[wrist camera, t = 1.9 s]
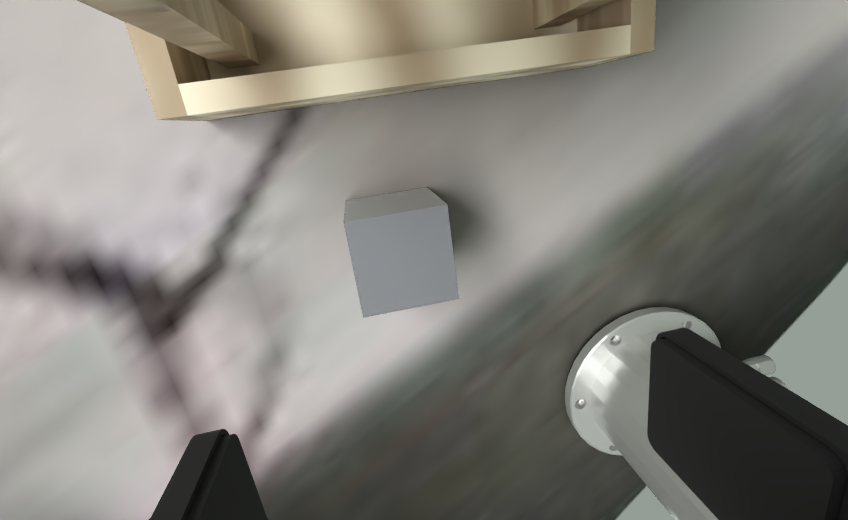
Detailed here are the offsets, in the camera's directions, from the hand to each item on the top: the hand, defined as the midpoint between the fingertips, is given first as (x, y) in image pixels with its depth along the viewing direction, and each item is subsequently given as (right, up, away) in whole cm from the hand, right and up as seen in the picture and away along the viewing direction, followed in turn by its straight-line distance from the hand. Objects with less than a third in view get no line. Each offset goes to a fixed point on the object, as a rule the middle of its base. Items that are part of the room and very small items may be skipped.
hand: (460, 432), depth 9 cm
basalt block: (-3, +5, +17) cm, 18 cm away
